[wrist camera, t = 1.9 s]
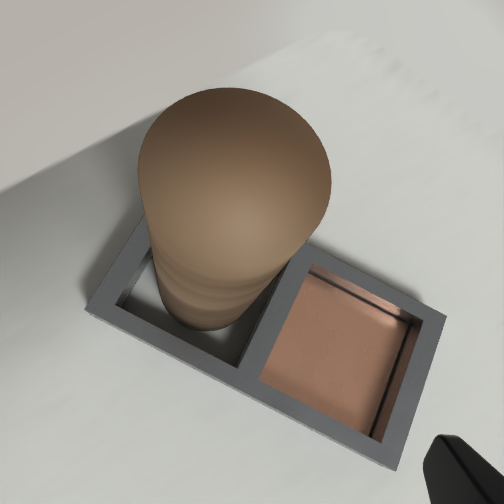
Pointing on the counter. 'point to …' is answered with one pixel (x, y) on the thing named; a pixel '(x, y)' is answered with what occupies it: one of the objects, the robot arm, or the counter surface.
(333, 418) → the grey divided tray
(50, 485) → the counter surface
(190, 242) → the post
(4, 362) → the counter surface
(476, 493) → the robot arm
